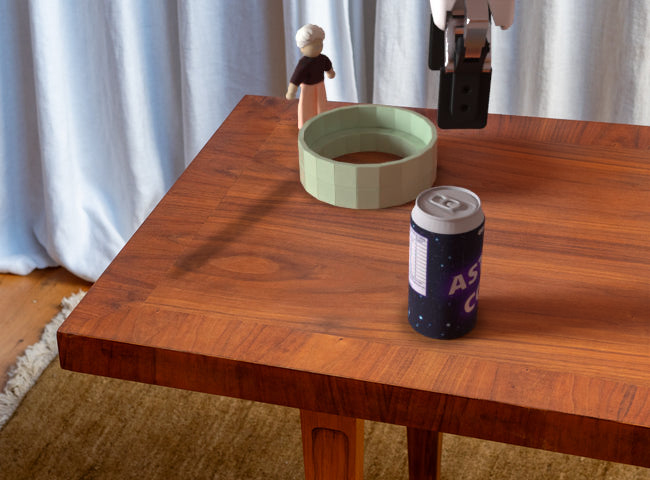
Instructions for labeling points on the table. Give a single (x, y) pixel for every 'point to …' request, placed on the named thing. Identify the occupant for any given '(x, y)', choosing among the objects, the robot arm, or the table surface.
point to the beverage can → (445, 262)
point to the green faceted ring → (367, 135)
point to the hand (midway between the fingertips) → (455, 96)
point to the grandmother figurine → (310, 74)
